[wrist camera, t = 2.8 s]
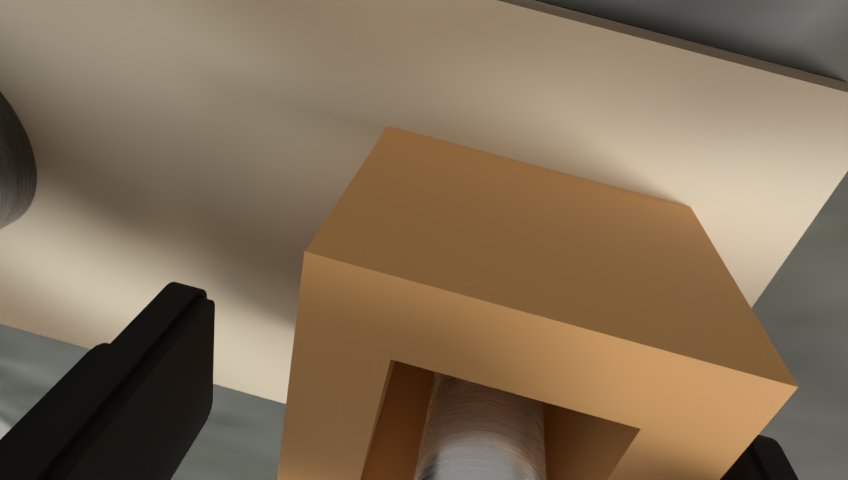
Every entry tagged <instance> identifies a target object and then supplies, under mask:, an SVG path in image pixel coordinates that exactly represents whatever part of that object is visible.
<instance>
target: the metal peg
mask: <svg viewBox="0 0 848 480" xmlns="http://www.w3.org/2000/svg"><path fill="white" fill-rule="evenodd" d="M36 186H37V170H36V162H35V157H34V153H33V149H32V146H31V144H30V141H29V138H28V136H27V133H26V131H25V129H24V127H23V125H22V123H21V121H20V119H19V118H18V116H17V114H16V113H15V111H14V110H13V108H12V106H11V105H10V104H9V102H8V101H7V99H6V98H5V97H4V95H3V94H2V93H1V91H0V230H1V229H2V228H4V227H6V226H7V225H9V224H11V223H12V222H14V221H16V220H17V219H19V218H20V217H21V216H22V215H23V214H24V213H25V212H26V211H27V210H28V208H29V207H30V205H31V203H32V201H33V198H34V196H35V191H36Z"/></svg>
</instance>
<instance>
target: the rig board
mask: <svg viewBox="0 0 848 480" xmlns="http://www.w3.org/2000/svg"><path fill="white" fill-rule="evenodd" d="M0 91H1V93H2V94H3V95H4V97H5V98H6V99H7V101H8V102H9V104H10V105H11V106H12V108H13V110H14V111H15V113H16V114H17V116H18V118H19V119H20V121H21V123H22V125H23V127H24V129H25V131H26V133H27V136H28V138H29V141H30V144H31V146H32V149H33V153H34V157H35V162H36V170H37V186H36V191H35V196H34V198H33V201H32V203H31V205H30V207H29V208H28V210H27V211H26V212H25V213H24V214H23V215H22V216H21V217H20V218H19V219H17V220H16V221H14V222H12V223H11V224H9V225H7V226H6V227H4V228H2V229H1V230H0V324H3V325H7V326H10V327H14V328H18V329H21V330H25V331H28V332H32V333H35V334H39V335H42V336H46V337H50V338H53V339H57V340H60V341H64V342H67V343H71V344H74V345H78V346H82V347H85V348H89V349H92V348H94V347H95V346H96V345H99V344H101V343H111V342H112V341H113V340H114V339H115V338H116V337H117V336H118V335H119V334H120V333H121V332H122V331H123V330H124V329H125V328H126V327H127V326H128V325H129V323H130V322H131V321H132V320H133V319H134V318H135V317H136V316H137V315H138V314H139V313H140V312H141V311H142V310H143V309H144V308H145V307H146V306H147V305H148V304H149V303H150V302H151V301H152V300H153V299H154V298H155V297H156V296H157V294H158V293H159V292H160V291H161V290H162V289H163V288H164V287H165V286H166V285H168V284H169V283H170V282H177V283H181V284H185V285H189V286H193V287H196V288H200V289H203V290H205V291H206V293H207V299H210V300H213V301H214V303H215V324H214V364H213V384H217V385H220V386H224V387H227V388H231V389H235V390H238V391H242V392H245V393H249V394H252V395H256V396H259V397H263V398H267V399H270V400H274V401H277V402H281V403H284V404H286V401H287V392H288V384H289V376H290V367H291V359H292V350H293V342H294V334H295V325H296V317H297V309H298V300H299V292H300V284H301V275H302V267H303V259H304V251H305V250H306V248H307V247H308V245H309V244H310V242H311V241H312V239H313V238H314V236H315V235H316V233H317V232H318V230H319V229H320V227H321V226H322V224H323V223H324V221H325V220H326V218H327V217H328V215H329V214H330V212H331V211H332V209H333V208H334V206H335V205H336V203H337V202H338V200H339V199H340V197H341V196H342V194H343V193H344V191H345V190H346V188H347V187H348V185H349V184H350V182H351V181H352V179H353V178H354V176H355V175H356V173H357V172H358V170H359V168H360V167H361V165H362V164H363V162H364V161H365V159H366V158H367V156H368V155H369V153H370V152H371V150H372V149H373V147H374V146H375V144H376V143H377V141H378V140H379V138H380V137H381V135H382V134H383V132H384V131H385V129H386V128H387V126H391V127H395V128H398V129H402V130H406V131H410V132H413V133H417V134H421V135H425V136H428V137H432V138H436V139H439V140H443V141H447V142H451V143H454V144H458V145H462V146H465V147H469V148H473V149H477V150H480V151H484V152H488V153H491V154H495V155H499V156H503V157H506V158H510V159H514V160H518V161H521V162H525V163H529V164H532V165H536V166H540V167H544V168H547V169H551V170H555V171H558V172H562V173H566V174H570V175H573V176H577V177H581V178H584V179H588V180H592V181H596V182H599V183H603V184H607V185H610V186H614V187H618V188H622V189H625V190H629V191H633V192H637V193H640V194H644V195H648V196H651V197H655V198H659V199H663V200H666V201H670V202H674V203H677V204H681V205H685V206H689V207H691V208H692V210H693V212H694V213H695V215H696V217H697V218H698V220H699V222H700V223H701V225H702V227H703V228H704V230H705V232H706V234H707V235H708V237H709V239H710V240H711V242H712V244H713V245H714V247H715V249H716V250H717V252H718V254H719V255H720V257H721V259H722V260H723V262H724V264H725V265H726V267H727V269H728V270H729V272H730V274H731V275H732V277H733V279H734V280H735V282H736V284H737V285H738V287H739V289H740V290H741V292H742V294H743V295H744V297H745V299H746V301H747V302H748V304H749V306H750V307H751V308H752V306H753V305H754V303H755V302H756V301H757V299H758V298H759V296H760V295H761V294H762V292H763V291H764V289H765V288H766V286H767V285H768V284H769V282H770V281H771V279H772V278H773V276H774V275H775V274H776V272H777V271H778V269H779V268H780V266H781V265H782V264H783V262H784V261H785V259H786V258H787V256H788V255H789V254H790V252H791V251H792V249H793V248H794V247H795V245H796V244H797V242H798V241H799V239H800V238H801V237H802V235H803V234H804V232H805V231H806V229H807V228H808V227H809V225H810V224H811V222H812V221H813V219H814V218H815V217H816V215H817V214H818V212H819V211H820V209H821V208H822V207H823V205H824V204H825V202H826V201H827V200H828V198H829V197H830V195H831V194H832V192H833V191H834V190H835V188H836V187H837V185H838V184H839V182H840V181H841V180H842V178H843V177H844V175H845V174H846V172H847V171H848V83H847V82H843V81H840V80H836V79H832V78H828V77H824V76H821V75H817V74H813V73H809V72H805V71H801V70H798V69H794V68H790V67H786V66H782V65H779V64H775V63H771V62H767V61H763V60H760V59H756V58H752V57H748V56H744V55H740V54H737V53H733V52H729V51H725V50H721V49H718V48H714V47H710V46H706V45H702V44H699V43H695V42H691V41H687V40H683V39H679V38H676V37H672V36H668V35H664V34H660V33H657V32H653V31H649V30H645V29H641V28H638V27H634V26H630V25H626V24H622V23H618V22H615V21H611V20H607V19H603V18H599V17H596V16H592V15H588V14H584V13H580V12H577V11H573V10H569V9H565V8H561V7H557V6H554V5H550V4H546V3H542V2H538V1H535V0H0Z"/></svg>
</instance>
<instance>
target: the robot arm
mask: <svg viewBox="0 0 848 480" xmlns="http://www.w3.org/2000/svg"><path fill="white" fill-rule="evenodd" d="M214 324H215V303H214V301H213V300H210V299H207V293H206V291H205V290H203V289H200V288H196V287H193V286H189V285H185V284H181V283H177V282H170V283H169V284H168V285H166V286H165V287H164V288H163V289H162V290H161V291H160V292H159V293H158V294H157V296H156V297H155V298H154V299H153V300H152V301H151V302H150V303H149V304H148V305H147V306H146V307H145V308H144V309H143V310H142V311H141V312H140V313H139V314H138V315H137V316H136V317H135V318H134V319H133V320H132V321H131V322H130V323H129V325H128V326H127V327H126V328H125V329H124V330H123V331H122V332H121V333H120V334H119V335H118V336H117V337H116V338H115V339H114V340H113V341H112V342H111V343H101V344H99V345H96V346H95V347H94V348H92V349H91V350H90V351H89V352H87V353H86V354H85V355H84V356H83V357H82V358H81V359H80V360H79V361H78V363H77V364H76V365H75V366H74V367H73V368H72V369H71V370H70V371H69V372H68V373H67V374H66V375H65V376H64V377H63V378H62V379H61V380H60V381H59V382H58V383H57V384H56V385H55V386H54V387H53V388H52V389H51V390H50V391H49V392H48V393H47V394H46V395H45V396H44V397H43V398H42V399H41V400H40V401H39V402H38V403H37V404H36V405H35V406H34V407H33V408H32V409H31V410H30V411H29V412H28V413H27V414H26V415H25V416H24V417H23V418H22V419H21V420H20V421H19V422H18V423H17V424H16V425H15V426H14V427H13V428H12V429H11V430H10V431H9V432H8V433H7V434H6V435H5V436H4V437H3V438H2V439H1V440H0V480H170V479H171V478H172V476H173V475H174V473H175V471H176V470H177V468H178V466H179V465H180V463H181V461H182V460H183V458H184V457H185V455H186V453H187V452H188V450H189V448H190V447H191V445H192V444H193V442H194V440H195V439H196V437H197V435H198V434H199V432H200V431H201V429H202V427H203V426H204V424H205V422H206V420H207V419H208V416H209V414H210V411H211V407H212V401H213V364H214ZM720 480H798V478H797V476H796V474H795V472H794V470H793V469H792V467H791V465H790V463H789V461H788V459H787V457H786V456H785V454H784V452H783V450H782V448H781V446H780V445H779V444H778V442H777V441H775V440H774V439H772V438H769V437H765V436H761V435H757V436H756V438H755V439H754V440H753V441H752V442H751V444H750V445H749V446H748V447H747V448H746V449H745V451H744V452H743V453H742V454H741V455H740V457H739V458H738V459H737V460H736V461H735V462H734V464H733V465H732V466H731V467H730V468H729V469H728V471H727V472H726V473H725V474H724V475H723V477H722V478H721V479H720Z"/></svg>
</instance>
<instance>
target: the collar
mask: <svg viewBox="0 0 848 480" xmlns="http://www.w3.org/2000/svg"><path fill="white" fill-rule="evenodd" d="M435 372H438V373H442V374H445V375H449V376H452V377H456V378H460V379H463V380H467V381H470V382H474V383H478V384H481V385H485V386H488V387H492V388H496V389H499V390H503V391H506V392H510V393H514V394H517V395H521V396H524V397H528V398H532V399H535V400H539V401H542V402H543V424H544V447H545V470H546V480H720V479H721V478H722V477H723V475H724V474H725V473H726V472H727V471H728V469H729V468H730V467H731V466H732V465H733V464H734V462H735V461H736V460H737V459H738V458H739V457H740V455H741V454H742V453H743V452H744V451H745V449H746V448H747V447H748V446H749V445H750V444H751V442H752V441H753V440H754V439H755V438H756V436H757V435H758V434H759V433H760V432H761V431H762V429H763V428H764V427H765V426H766V425H767V424H768V422H769V421H770V420H771V419H772V418H773V416H774V415H775V414H776V413H777V412H778V411H779V409H780V408H781V407H782V406H783V405H784V404H785V402H786V401H787V400H788V399H789V398H790V396H791V395H792V394H793V393H794V392H795V391H796V389H797V388H798V386H797V384H796V383H795V381H794V379H793V378H792V376H791V374H790V373H789V371H788V369H787V367H786V366H785V364H784V362H783V361H782V359H781V357H780V356H779V354H778V352H777V351H776V349H775V347H774V346H773V344H772V342H771V341H770V339H769V337H768V336H767V334H766V332H765V331H764V329H763V327H762V326H761V324H760V322H759V321H758V319H757V317H756V316H755V314H754V312H753V311H752V309H751V307H750V306H749V304H748V302H747V301H746V299H745V297H744V295H743V294H742V292H741V290H740V289H739V287H738V285H737V284H736V282H735V280H734V279H733V277H732V275H731V274H730V272H729V270H728V269H727V267H726V265H725V264H724V262H723V260H722V259H721V257H720V255H719V254H718V252H717V250H716V249H715V247H714V245H713V244H712V242H711V240H710V239H709V237H708V235H707V234H706V232H705V230H704V228H703V227H702V225H701V223H700V222H699V220H698V218H697V217H696V215H695V213H694V212H693V210H692V208H691V207H689V206H685V205H681V204H677V203H674V202H670V201H666V200H663V199H659V198H655V197H651V196H648V195H644V194H640V193H637V192H633V191H629V190H625V189H622V188H618V187H614V186H610V185H607V184H603V183H599V182H596V181H592V180H588V179H584V178H581V177H577V176H573V175H570V174H566V173H562V172H558V171H555V170H551V169H547V168H544V167H540V166H536V165H532V164H529V163H525V162H521V161H518V160H514V159H510V158H506V157H503V156H499V155H495V154H491V153H488V152H484V151H480V150H477V149H473V148H469V147H465V146H462V145H458V144H454V143H451V142H447V141H443V140H439V139H436V138H432V137H428V136H425V135H421V134H417V133H413V132H410V131H406V130H402V129H398V128H395V127H391V126H387V128H386V129H385V131H384V132H383V134H382V135H381V137H380V138H379V140H378V141H377V143H376V144H375V146H374V147H373V149H372V150H371V152H370V153H369V155H368V156H367V158H366V159H365V161H364V162H363V164H362V165H361V167H360V168H359V170H358V172H357V173H356V175H355V176H354V178H353V179H352V181H351V182H350V184H349V185H348V187H347V188H346V190H345V191H344V193H343V194H342V196H341V197H340V199H339V200H338V202H337V203H336V205H335V206H334V208H333V209H332V211H331V212H330V214H329V215H328V217H327V218H326V220H325V221H324V223H323V224H322V226H321V227H320V229H319V230H318V232H317V233H316V235H315V236H314V238H313V239H312V241H311V242H310V244H309V245H308V247H307V248H306V250H305V251H304V259H303V267H302V275H301V284H300V292H299V300H298V309H297V317H296V325H295V334H294V342H293V350H292V359H291V367H290V376H289V384H288V392H287V401H286V409H285V417H284V426H283V434H282V442H281V451H280V459H279V467H278V476H277V480H414V476H415V471H416V465H417V460H418V455H419V450H420V445H421V440H422V435H423V429H424V424H425V419H426V414H427V409H428V404H429V399H430V393H431V388H432V383H433V378H434V373H435Z"/></svg>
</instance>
